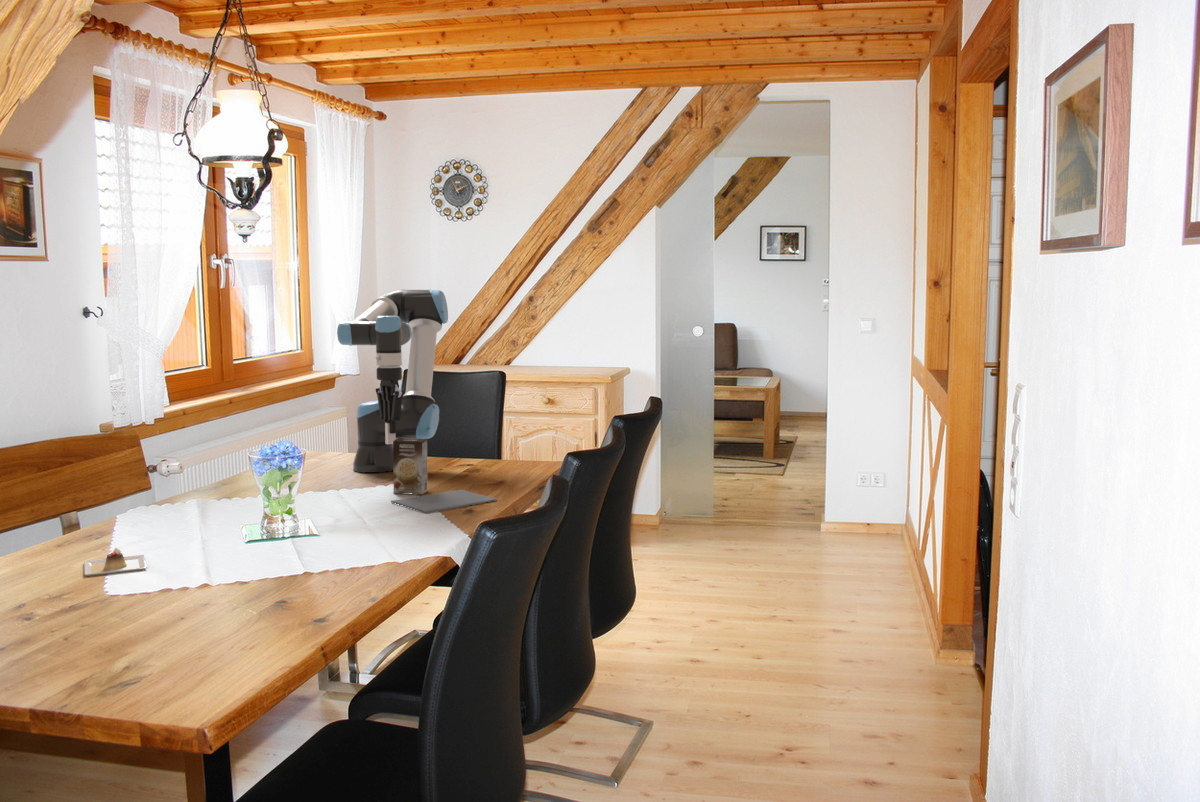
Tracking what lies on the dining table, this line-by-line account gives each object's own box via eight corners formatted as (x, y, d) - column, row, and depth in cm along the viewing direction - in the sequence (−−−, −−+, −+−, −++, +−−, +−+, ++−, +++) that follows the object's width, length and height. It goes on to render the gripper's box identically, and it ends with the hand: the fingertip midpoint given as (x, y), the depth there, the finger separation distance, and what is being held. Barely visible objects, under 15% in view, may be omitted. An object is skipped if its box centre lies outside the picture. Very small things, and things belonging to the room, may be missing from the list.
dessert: (84, 579, 208) (83, 557, 208) (84, 565, 219) (83, 544, 219) (147, 572, 214) (146, 551, 213) (144, 559, 225) (143, 538, 224)
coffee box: (392, 494, 294) (391, 440, 292) (399, 490, 300) (397, 437, 298) (422, 495, 293) (421, 441, 291) (428, 490, 299) (427, 438, 297)
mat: (391, 502, 282) (391, 500, 282) (461, 491, 298) (461, 489, 298) (425, 513, 269) (425, 511, 268) (497, 501, 285) (497, 498, 285)
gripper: (367, 366, 302) (368, 442, 305) (389, 368, 293) (390, 447, 295) (388, 365, 307) (390, 440, 310) (411, 367, 298) (412, 444, 300)
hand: (390, 443), depth 303 cm, fingers closed
